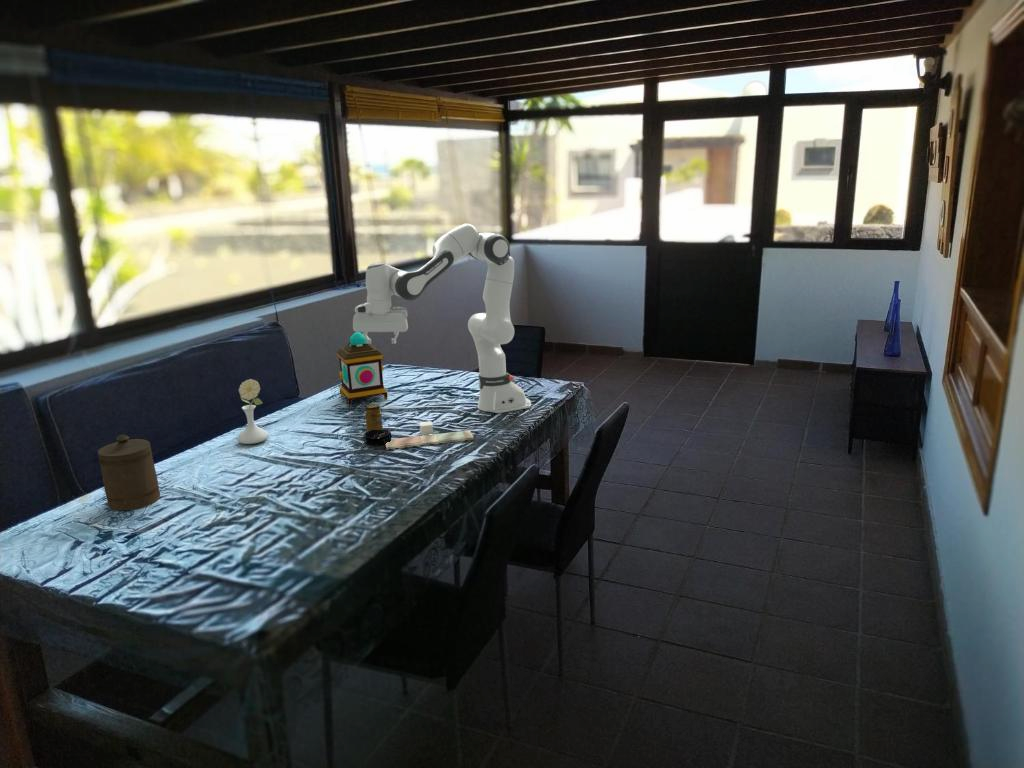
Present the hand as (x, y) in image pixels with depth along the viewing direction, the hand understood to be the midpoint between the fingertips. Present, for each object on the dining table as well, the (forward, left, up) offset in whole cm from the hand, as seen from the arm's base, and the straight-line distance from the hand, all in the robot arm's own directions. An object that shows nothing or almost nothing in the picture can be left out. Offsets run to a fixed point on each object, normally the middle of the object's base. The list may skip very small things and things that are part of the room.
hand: (381, 343), depth 278 cm
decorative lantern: (+8, -47, -35) cm, 59 cm away
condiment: (+5, +5, -35) cm, 36 cm away
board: (-14, +17, -35) cm, 41 cm away
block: (-14, +8, -35) cm, 38 cm away
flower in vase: (+50, -4, -35) cm, 61 cm away
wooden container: (+82, +40, -35) cm, 98 cm away
